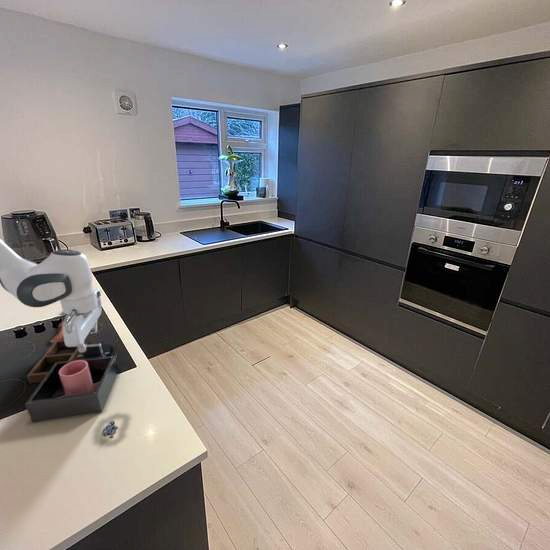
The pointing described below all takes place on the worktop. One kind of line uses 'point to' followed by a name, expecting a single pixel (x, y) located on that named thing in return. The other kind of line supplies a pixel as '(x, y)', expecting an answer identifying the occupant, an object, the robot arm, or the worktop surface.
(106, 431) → the blueberries
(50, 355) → the wooden divided tray
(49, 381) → the dark grey open box
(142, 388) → the worktop surface
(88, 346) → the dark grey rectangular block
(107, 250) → the worktop surface
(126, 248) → the worktop surface
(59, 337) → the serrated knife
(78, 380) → the cup
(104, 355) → the tap panel
